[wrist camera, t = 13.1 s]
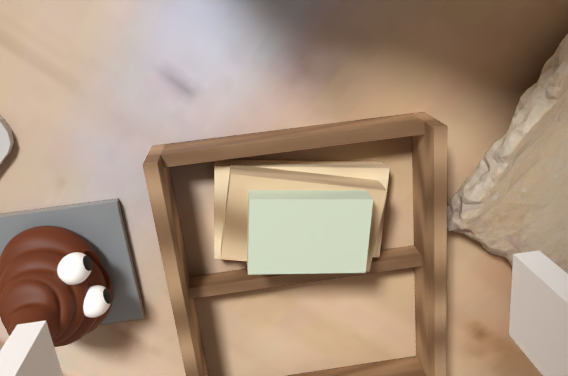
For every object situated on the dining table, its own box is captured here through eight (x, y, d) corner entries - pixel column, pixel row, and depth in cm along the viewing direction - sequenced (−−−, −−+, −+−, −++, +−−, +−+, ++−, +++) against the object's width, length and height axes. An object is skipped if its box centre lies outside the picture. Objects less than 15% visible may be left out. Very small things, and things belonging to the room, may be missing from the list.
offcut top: (248, 189, 39) (249, 199, 38) (366, 190, 40) (373, 199, 39) (246, 262, 41) (247, 274, 40) (359, 260, 42) (365, 272, 41)
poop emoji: (-17, 243, 42) (-81, 307, 34) (80, 203, 42) (42, 258, 33) (48, 338, 46) (5, 419, 37) (138, 302, 46) (117, 375, 37)
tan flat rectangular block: (215, 157, 43) (214, 166, 41) (381, 159, 45) (389, 168, 43) (215, 245, 46) (214, 258, 44) (371, 244, 48) (379, 257, 45)
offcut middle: (230, 163, 41) (230, 174, 39) (378, 180, 43) (387, 190, 41) (220, 244, 43) (220, 259, 41) (361, 257, 45) (369, 271, 43)
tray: (152, 145, 42) (142, 164, 37) (423, 111, 43) (447, 126, 38) (201, 397, 51) (198, 438, 46) (426, 362, 52) (446, 399, 47)
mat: (-21, 216, 42) (-25, 220, 42) (118, 198, 43) (116, 202, 42) (18, 331, 46) (14, 337, 46) (144, 313, 47) (143, 318, 46)
